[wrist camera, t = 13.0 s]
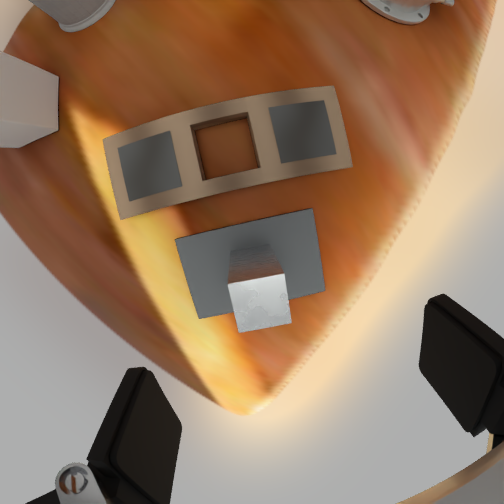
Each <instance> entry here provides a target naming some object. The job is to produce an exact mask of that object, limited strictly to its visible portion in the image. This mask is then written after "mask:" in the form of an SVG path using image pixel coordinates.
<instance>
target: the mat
mask: <svg viewBox="0 0 504 504" xmlns="http://www.w3.org/2000/svg"><path fill="white" fill-rule="evenodd" d="M175 242H176V246H177V249H178V253H179V256H180V260H181V263H182V266H183V270H184V273H185V276H186V280H187V283H188V286H189V289H190V293H191V296H192V299H193V302H194V305H195V308H196V311H197V314H198V317H199V319H202V318H207V317H212V316H217V315H222V314H227V313H232V312H234V310H233V305H232V301H231V297H230V292H229V288H228V273H229V261H230V251H234V250H240V249H245V248H250V247H255V246H261V245H266V244H270V245H271V247H272V249H273V251H274V253H275V255H276V257H277V259H278V261H279V263H280V265H281V267H282V269H283V272H284V274H285V281H286V287H287V294H288V300H290V299H294V298H298V297H302V296H306V295H311V294H315V293H318V292H322V291H325V284H324V277H323V270H322V263H321V257H320V250H319V244H318V237H317V231H316V226H315V220H314V214H313V209H312V208H310V209H305V210H300V211H296V212H291V213H286V214H282V215H277V216H272V217H268V218H263V219H259V220H254V221H250V222H245V223H241V224H237V225H232V226H228V227H224V228H219V229H215V230H211V231H207V232H202V233H198V234H194V235H190V236H186V237H182V238H178V239H175Z"/></svg>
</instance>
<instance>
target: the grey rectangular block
mask: <svg viewBox="0 0 504 504" xmlns="http://www.w3.org/2000/svg"><path fill="white" fill-rule="evenodd" d="M228 288H229V292H230V297H231V301H232V305H233V310H234V314H235V318H236V323H237V327H238V331H239V333H240V332H246V331H252V330H257V329H263V328H268V327H273V326H278V325H283V324H288V323H292V322H291V315H290V308H289V301H288V294H287V287H286V281H285V274H284V272H283V269H282V267H281V265H280V263H279V261H278V259H277V257H276V255H275V253H274V251H273V249H272V247H271V245H270V244H266V245H261V246H255V247H250V248H245V249H240V250H234V251H230V261H229V273H228Z"/></svg>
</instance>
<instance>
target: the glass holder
mask: <svg viewBox="0 0 504 504" xmlns="http://www.w3.org/2000/svg"><path fill="white" fill-rule="evenodd" d="M29 1H30V2H32V3H33V4H35V5H36V6H37V7H39V8H40V9H41V10H43V11H44V12H46V13H47V14H48V15H50V16H51V17H52V18H54V19H55V20H56V21H58V22H59V26H60V28H61V29H62V30H64V31H66V32H76V31H79V30H82V29H85V28H87V27H89V26H90V25H92V24H94V23H95V22H97V21H98V20H99V19H100V18H102V17H103V16H104V15H105V14H106V13H107V12H108V11H109V9H110V8H111V7H112V5H113V4H114V2H115V0H29Z"/></svg>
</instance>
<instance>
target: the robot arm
mask: <svg viewBox="0 0 504 504" xmlns="http://www.w3.org/2000/svg"><path fill="white" fill-rule="evenodd" d="M361 1H362V2H363V3H364V4H366V5H367V6H368V7H370V8H371V9H372V10H374V11H376V12H377V13H379V14H380V15H382V16H384V17H386V18H388V19H390V20H393V21H396V22H399V23H403V24H410V25H413V24H418V23H421V22H422V21H424V20H425V19H426V18H427V17H428V15H429V12H430V4H431V3H438V2H440V3H441V4H444V5H447V6H453V5H454V0H361ZM419 369H420V371H421V373H422V374H423V376H424V377H425V378H426V379H427V381H428V382H429V383H430V384H431V386H432V387H433V388H434V390H435V391H436V392H437V394H438V395H439V396H440V398H441V399H442V400H443V402H444V403H445V404H446V406H447V407H448V408H449V409H450V411H451V412H452V414H453V415H454V416H455V418H456V419H457V421H458V422H459V423H460V425H461V426H462V428H463V429H464V430H465V431H466V432H470V433H471V434H472V436H473V437H475V436H476V435H478V434H479V433H481V432H482V431H484V430H485V429H487V430H488V431H489V438H488V445H487V452H486V455H484V456H483V457H481V458H480V459H478V460H477V461H475V462H474V463H473V464H471V465H469V466H468V467H466V468H465V469H463V470H461V471H460V472H458V473H456V474H455V475H453V476H451V477H450V478H448V479H446V480H444V481H442V482H441V483H439V484H437V485H435V486H433V487H431V488H429V489H427V490H425V491H423V492H421V493H419V494H417V495H415V496H413V497H410V498H408V499H406V500H404V501H401V502H399V503H397V504H504V339H503V338H502V337H501V336H500V335H498V334H497V333H496V332H495V331H493V330H492V329H491V328H489V327H488V326H487V325H486V324H484V323H483V322H482V321H481V320H479V319H478V318H477V317H475V316H474V315H472V314H471V313H470V312H469V311H467V310H466V309H465V308H463V307H462V306H461V305H459V304H458V303H456V302H455V301H454V300H452V299H451V298H450V297H448V296H447V295H445V294H440V295H438V296H435V297H433V298H430V299H429V300H428V303H427V304H426V305H425V308H424V322H423V333H422V343H421V352H420V360H419ZM181 432H182V425H181V422H180V420H179V418H178V417H177V415H176V414H175V412H174V410H173V408H172V407H171V405H170V403H169V402H168V400H167V398H166V397H165V395H164V393H163V391H162V389H161V387H160V386H159V384H158V382H157V380H156V378H155V376H154V374H153V373H152V372H151V371H148V370H147V369H146V368H145V367H137V368H129V369H128V370H127V371H126V373H125V375H124V377H123V379H122V382H121V384H120V386H119V388H118V390H117V392H116V394H115V396H114V398H113V400H112V403H111V405H110V407H109V409H108V411H107V413H106V416H105V418H104V420H103V422H102V424H101V427H100V429H99V431H98V434H97V436H96V438H95V440H94V443H93V445H92V447H91V450H90V452H89V454H88V457H87V460H88V461H89V462H88V465H87V466H86V465H85V464H82V463H71V464H68V465H66V466H65V467H63V468H62V469H61V470H60V471H59V473H58V474H57V476H56V480H55V486H56V489H55V490H53V491H51V492H49V493H47V494H45V495H43V496H41V497H39V498H36V499H34V500H32V501H30V502H27V503H26V504H170V498H171V492H172V486H173V479H174V473H175V467H176V461H177V455H178V449H179V444H180V438H181Z"/></svg>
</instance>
